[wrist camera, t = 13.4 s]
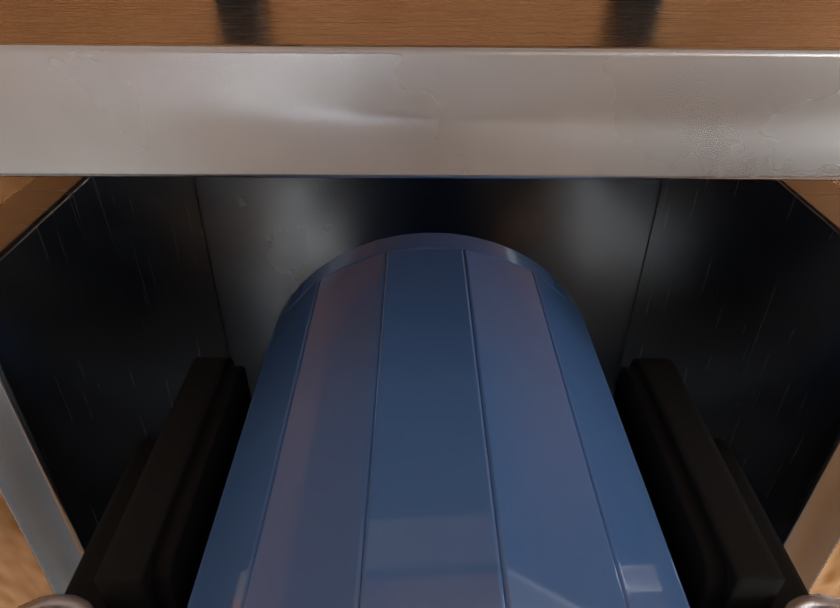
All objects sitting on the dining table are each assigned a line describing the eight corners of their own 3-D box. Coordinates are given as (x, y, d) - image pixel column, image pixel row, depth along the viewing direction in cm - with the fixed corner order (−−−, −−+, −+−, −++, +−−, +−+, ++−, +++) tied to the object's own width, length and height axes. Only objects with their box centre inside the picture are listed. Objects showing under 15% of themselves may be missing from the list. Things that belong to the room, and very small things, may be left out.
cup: (421, 157, 10) (427, 513, 4) (656, 365, 12) (847, 763, 7) (206, 379, 12) (42, 780, 7) (435, 516, 15) (446, 896, 9)
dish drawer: (-2, -416, 10) (-1186, -1231, 3) (869, -407, 10) (2109, -1176, 3) (218, 479, 21) (113, 799, 14) (627, 480, 22) (736, 798, 14)
